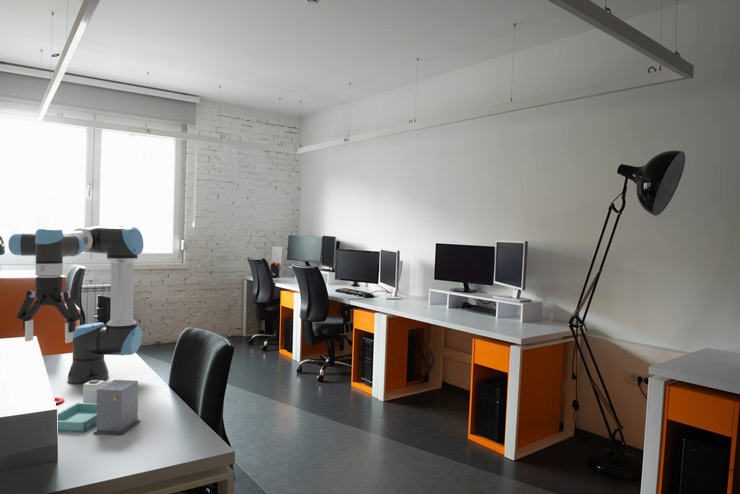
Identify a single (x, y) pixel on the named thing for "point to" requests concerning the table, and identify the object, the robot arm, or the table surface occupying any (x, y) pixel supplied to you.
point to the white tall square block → (91, 390)
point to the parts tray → (78, 417)
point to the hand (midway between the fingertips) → (48, 341)
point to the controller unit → (117, 407)
